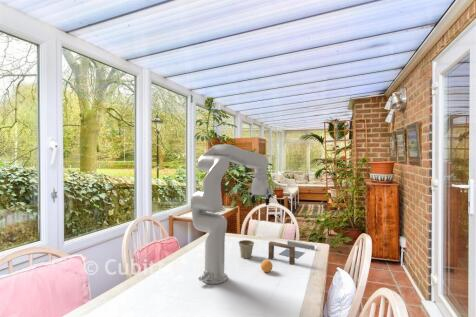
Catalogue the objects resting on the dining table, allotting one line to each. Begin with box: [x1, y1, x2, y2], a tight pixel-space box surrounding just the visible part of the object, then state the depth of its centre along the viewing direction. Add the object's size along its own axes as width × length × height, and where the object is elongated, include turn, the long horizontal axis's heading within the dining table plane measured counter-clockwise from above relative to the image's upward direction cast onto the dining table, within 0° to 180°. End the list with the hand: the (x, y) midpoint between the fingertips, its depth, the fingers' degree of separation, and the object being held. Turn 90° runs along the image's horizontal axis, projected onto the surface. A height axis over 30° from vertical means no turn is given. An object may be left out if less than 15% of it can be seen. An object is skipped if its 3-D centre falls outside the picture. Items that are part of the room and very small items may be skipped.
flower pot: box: [238, 239, 255, 260], centre depth 167 cm, size 9×9×9 cm
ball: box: [260, 259, 273, 273], centre depth 146 cm, size 6×6×6 cm
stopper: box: [286, 240, 316, 251], centre depth 186 cm, size 2×18×2 cm, turn 56°
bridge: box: [267, 241, 296, 265], centre depth 161 cm, size 3×15×10 cm, turn 56°
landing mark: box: [278, 248, 305, 259], centre depth 174 cm, size 12×12×1 cm
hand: (260, 204), depth 173 cm, fingers open, 9 cm apart
